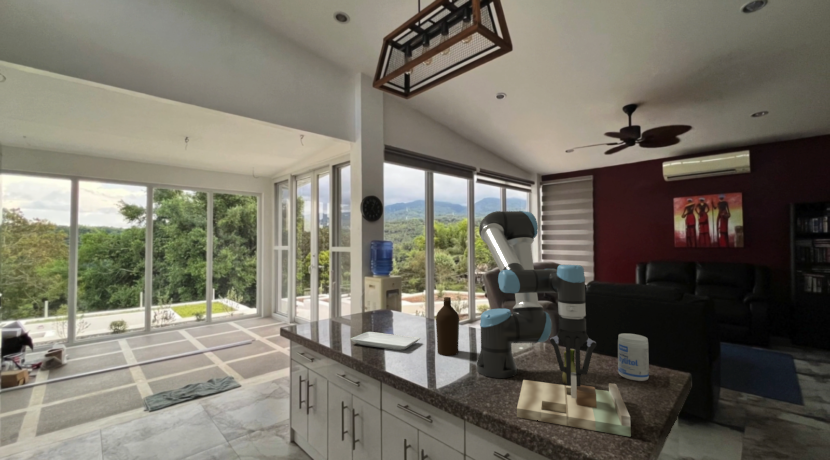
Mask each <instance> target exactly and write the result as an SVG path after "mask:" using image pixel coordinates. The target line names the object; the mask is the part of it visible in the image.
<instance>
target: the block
mask: <svg viewBox="0 0 830 460" xmlns="http://www.w3.org/2000/svg"><path fill="white" fill-rule="evenodd" d="M595 389H596V388H595V386H592V385H591V386H590V385H583V384H581V386H577V405H580V406H587V407H593V408H597V405H596V391H595Z"/></svg>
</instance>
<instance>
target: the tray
mask: <svg viewBox="0 0 830 460" xmlns="http://www.w3.org/2000/svg"><path fill="white" fill-rule="evenodd" d="M349 340H350V341H351V342H353V343H355V344H357V345H360V346H366V347H374V348H380V349H381V348H382V349H387V350H395V351H404V350H406V349H408V348H410V347H411V346H413V345H414V344H415V343H417V342H418V341H420V340H421V337H415V336H408V335H401V334H390V333H382V332H376V331H375V332H374V331H366V332H363V333H361V334H358V335H355V336H354V337H351V338H349Z"/></svg>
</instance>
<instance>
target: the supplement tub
mask: <svg viewBox="0 0 830 460" xmlns="http://www.w3.org/2000/svg"><path fill="white" fill-rule="evenodd" d="M649 362H650V361H649V339H648V337H646V336H644V335H641V334H635V333H619V334H618V339H617V363H618V364H617V369H618V374H619V375H620V376H621V377H622V378H624V379H627V380H631V381H638V382H645V381H647V380H648V379H649V377H650V368H649V366H650V365H649V364H650V363H649Z"/></svg>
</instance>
